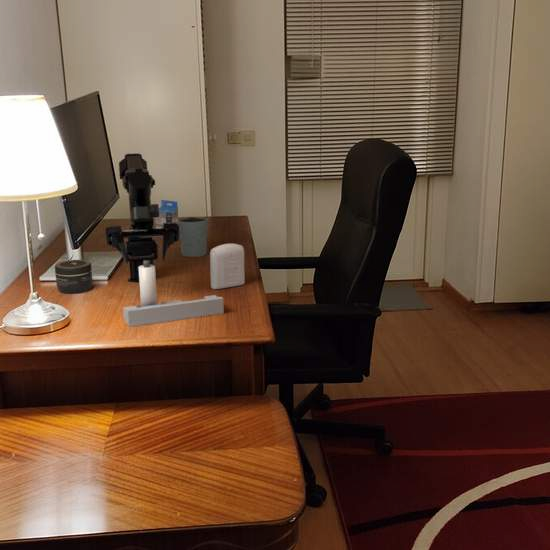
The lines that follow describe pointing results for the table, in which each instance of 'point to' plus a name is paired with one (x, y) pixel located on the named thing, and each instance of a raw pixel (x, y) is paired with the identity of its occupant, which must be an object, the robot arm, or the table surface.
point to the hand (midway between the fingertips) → (145, 261)
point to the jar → (73, 276)
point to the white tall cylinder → (147, 284)
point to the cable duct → (173, 311)
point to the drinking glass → (193, 236)
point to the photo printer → (227, 266)
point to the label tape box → (167, 213)
